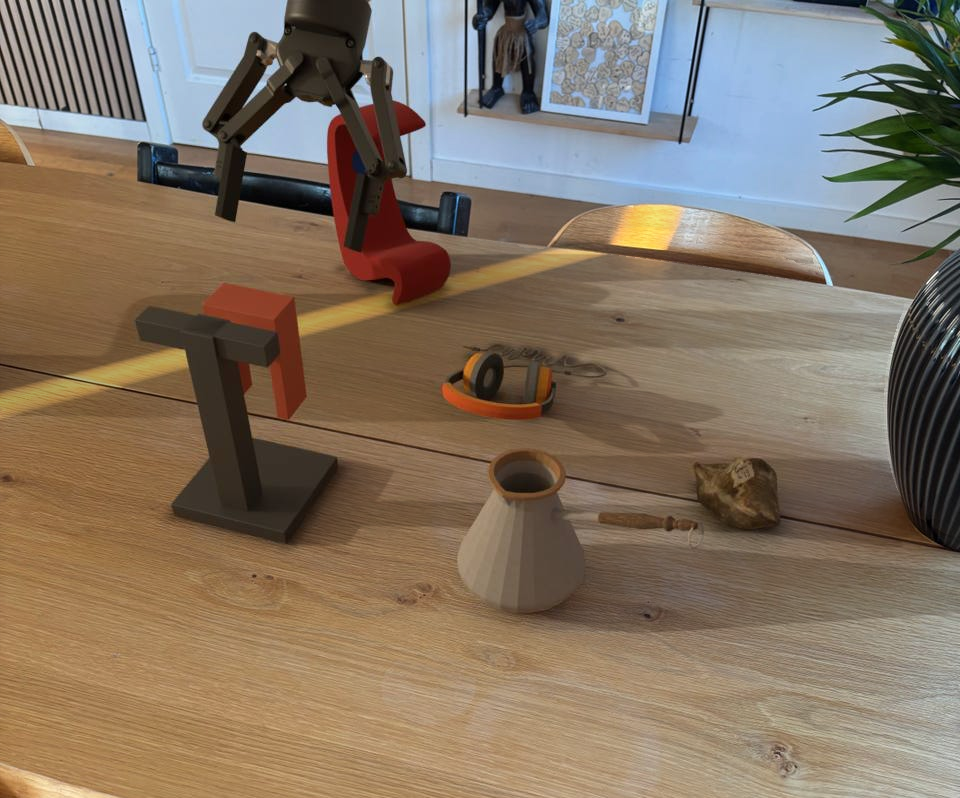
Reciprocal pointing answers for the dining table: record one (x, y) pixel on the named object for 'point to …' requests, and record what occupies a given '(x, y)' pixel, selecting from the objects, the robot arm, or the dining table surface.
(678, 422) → the dining table surface
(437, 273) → the chair
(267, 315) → the clip
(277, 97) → the robot arm
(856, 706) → the dining table surface
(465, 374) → the headphones
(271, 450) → the stand
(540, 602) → the coffee pot
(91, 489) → the dining table surface
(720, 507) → the fossilized seashell
